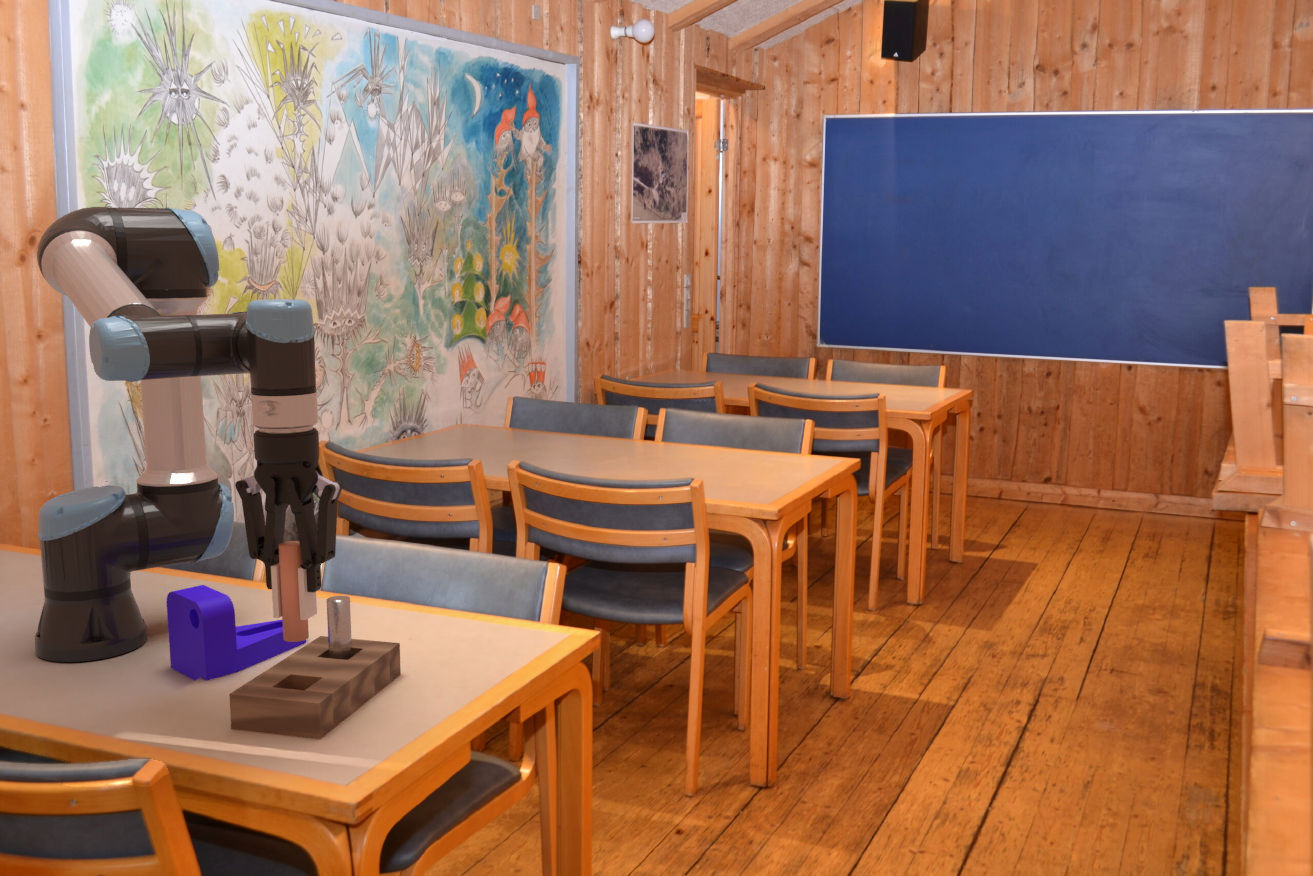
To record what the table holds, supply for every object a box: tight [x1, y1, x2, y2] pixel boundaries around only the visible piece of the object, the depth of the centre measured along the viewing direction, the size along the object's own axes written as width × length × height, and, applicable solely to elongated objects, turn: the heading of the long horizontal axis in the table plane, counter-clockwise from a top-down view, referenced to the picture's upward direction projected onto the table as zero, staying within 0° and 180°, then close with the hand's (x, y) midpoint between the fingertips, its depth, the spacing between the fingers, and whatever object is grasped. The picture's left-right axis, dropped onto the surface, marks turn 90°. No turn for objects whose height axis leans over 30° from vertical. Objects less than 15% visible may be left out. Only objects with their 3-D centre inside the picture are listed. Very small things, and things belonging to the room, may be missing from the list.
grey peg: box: [326, 595, 352, 660], centre depth 156 cm, size 3×3×12 cm
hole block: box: [229, 635, 401, 740], centre depth 152 cm, size 22×12×6 cm, turn 167°
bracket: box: [166, 584, 307, 682], centre depth 168 cm, size 18×11×12 cm, turn 137°
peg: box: [279, 540, 310, 642], centre depth 144 cm, size 3×3×12 cm
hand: (295, 615), depth 144 cm, fingers closed on peg, 3 cm apart
